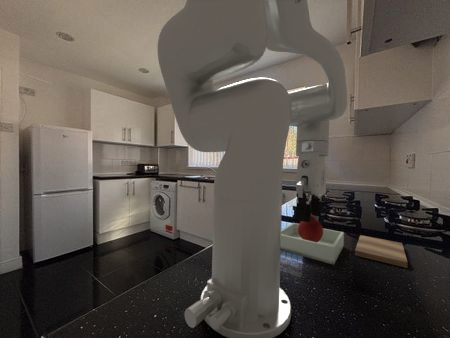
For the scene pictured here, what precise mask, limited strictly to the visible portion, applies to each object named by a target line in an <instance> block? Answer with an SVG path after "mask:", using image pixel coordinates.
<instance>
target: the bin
mask: <svg viewBox="0 0 450 338" xmlns="http://www.w3.org/2000/svg"><path fill="white" fill-rule="evenodd" d="M299 224H300V223H295V222H292V223H290V224H289V225H287V226H286V227H284V228H281V246H280V249H282V250H281V251H283V250H284V252H287V253H290V254H295V255H298V256H302V257H306V258H307V259H308V258H309V259H311V260H312V259H313V260H315V261H319V262H321V263H322V262H323V263H326V264H329V265H332V266H334V265H335V264H336V262H337V260H338V258H339V256H340V254H341V252H342V250H343V248H344V246H345V245H344V243H345V241H344V239H345V232H344V231H338V230H333V229H329V228H328V229H327V228H323V236H322V238H321V239H320V240H319V241H318V242H313V241H308V240H304V239H302V238H301V237H300V235H299V233H298V226H299Z"/></svg>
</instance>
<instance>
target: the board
mask: <svg viewBox="0 0 450 338" xmlns="http://www.w3.org/2000/svg"><path fill="white" fill-rule="evenodd" d="M354 256H356V257H361V258H366V259H369V260H373V261H377V262H381V263H386V264H388V265H393V266H397V267H402V268H406V269H408V259H407V256H406V252H405V248H404V245H403V243H402V242H398V241H393V240H387V239H383V238H377V237H372V236H366V235H362V234H360V235H359V237H358V241H357V243H356V246H355V249H354Z"/></svg>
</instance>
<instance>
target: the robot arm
mask: <svg viewBox="0 0 450 338" xmlns="http://www.w3.org/2000/svg"><path fill="white" fill-rule="evenodd" d="M308 4H309V3H308V0H186V1H185V5H184V6H183V8H181V10H179V11H178V12H176V13H175V14H174V15H173V16H172V17H171V18H170V19H169V20H168V21H167V22H165V23H164V25H163V26H162V28H161V29H160V32H159V35H158V40H157V59H158V64H159V68H160V71H161V76H162V78H163V82H164V83H163V84H164V86H165V89H166V93H167V95H168V99H169V101H170V104H171V107H172V111H173V114H174V117H175V120H176V124H177V126H178V127H177V128H179V131H180V134H181V135H182V137H183V139H184V141H185V143H186V144H188V146H190V147H191V148H192V149H193V150H195V151H198V152H200V153H224V154H223V156H222V158H221V160H220V162H219V164H218V166H217V169H216V172H215V175H214V179H213V181H214V183H213V212H212V213H213V214H212V215H213V217H212V250H211V251H212V252H211V253H212V260H211V278H210V279H208V280H207V281H206V282H207V283H206V286H205V287H204V288H203V290H202V292H201V295H200V300H197V301H196V302H194V303H193V304H191V305H190V306H189V307H188V308H186V309H185V311H184V319H185V322H186V325H187V326H189V327H190V328H193V329H194V328H195V327H196V326H198V325H199V324H200V323H201V322H203V321H204V322H205V323H206V324H207V325H208V326H209V327H210V329H211V328H212V330H214V331H215V332H217V333H218V334H220V335H222V336H223V337H226V338H276V337H277V336H278V335H280V334H282V333H283V332H284V331H285V330H286V329H287V327H288V326H289V325H290V321H291V318H292V317H291V316H292V306H291V304H292V303H291V300H290V299H289V296H288V295H287V294H286V292H285V291H284V290H283V289H282V288H281V287H280V286H281V285H280V283H281V282H280V280H281V279H280V278H281V277H280V276H281V250H280V246H281V230H282V204H283V203H282V201H283V198H282V197H283V194H282V192H283V191H282V190H283V174H284V173H283V172H284V171H283V170H284V159H285V152H286V151H285V150H286V146H287V141H288V137H289V136H288V135H289V132H290V131H289V129H290V127H296V141H295V143H296V145H295V156H296V157H298V158H297V164H296V165H297V166H296V176H295V177H296V179H295V180H296V181H295V183H296V185H295V189H296V205H295V206H296V208H295V209H296V211H295V220H296V221H299V222H301V221H304V222H310V221H311V214H312V215H313V216H314V217H321V216H322V202H323V201H322V196H324V195H325V194H326V193H327V175H326V174H327V172H326V170H327V169H326V168H327V167H326V157H328V156H329V144H330V143H329V142H330V141H329V139H330V121H335V120H337V119H339V118H341V117H342V116H343V115H344V114H345V112H346V110H347V109H348V108H347V106H348V88H347V87H348V86H347V80H346V79H347V77H346V68H345V65H344V61H343V58H342V55H341V54H340V51H338V49H337V47H336V46H335V45H334V44H333V42H331V41H330V39H328V38H327V37H325V36H324V35H322V34H321V33H319V32H318V31H317V30H315V28H314V27H313V25H312V23H311V18H310V11H309V5H308ZM266 50H268V51H271V52H277V53H290V54H296V55H302V56H304V57H308V58H310V59H311V60H313V61H315V62H316V63H318V65H320V66H321V68H322V69H323V71H324V74H325V77H326V79H327V83H323V84H317V85H314V86H310V87H305V88H302V89H298V90H294V91H289V92H288V90H287V89H286V87H285V86H284V85H283V84H282V83H280V82H279V81H278V80H276V79H272V78H268V77H254V78H249V79H245V80H241V81H239V82H234V83H232V84H229V85H226V86H222V87H219V88H218V89H216V90H215V86H214V85H215V84H214V81H217V80H218V79H222V78H224V77H227V76H229V75H232V74H235V73H237V72H240V71H242V70H245V69H247V68H249V67H251V66H253V65H254V64H256V63H257V62H258V61H260V60H261V58H262V57H263V56H264V54H265V52H266Z"/></svg>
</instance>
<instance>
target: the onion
mask: <svg viewBox="0 0 450 338" xmlns="http://www.w3.org/2000/svg"><path fill="white" fill-rule="evenodd" d="M298 224H299V226H298V233H299V235H300V237H301V238H302V239H304V240H308V241H313V242H318V241H319V240H320V239H321V238H322V236H323V229H324V228H323V226H322V224H321V222H320V221H319V220H318V219H317V218H316V216H313V215H312V214H311V221H310V222H304V221H299V223H298Z"/></svg>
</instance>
